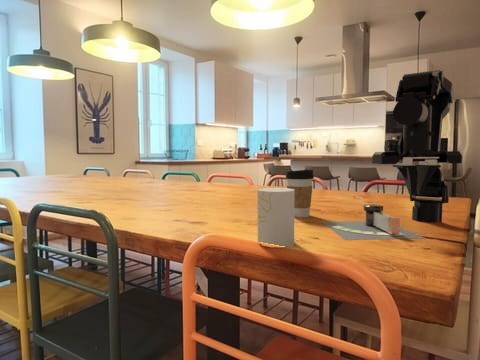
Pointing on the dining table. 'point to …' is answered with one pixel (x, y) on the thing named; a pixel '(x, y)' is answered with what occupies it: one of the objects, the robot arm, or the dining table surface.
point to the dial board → (366, 231)
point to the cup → (276, 216)
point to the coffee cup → (301, 190)
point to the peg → (381, 219)
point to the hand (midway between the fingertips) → (415, 194)
